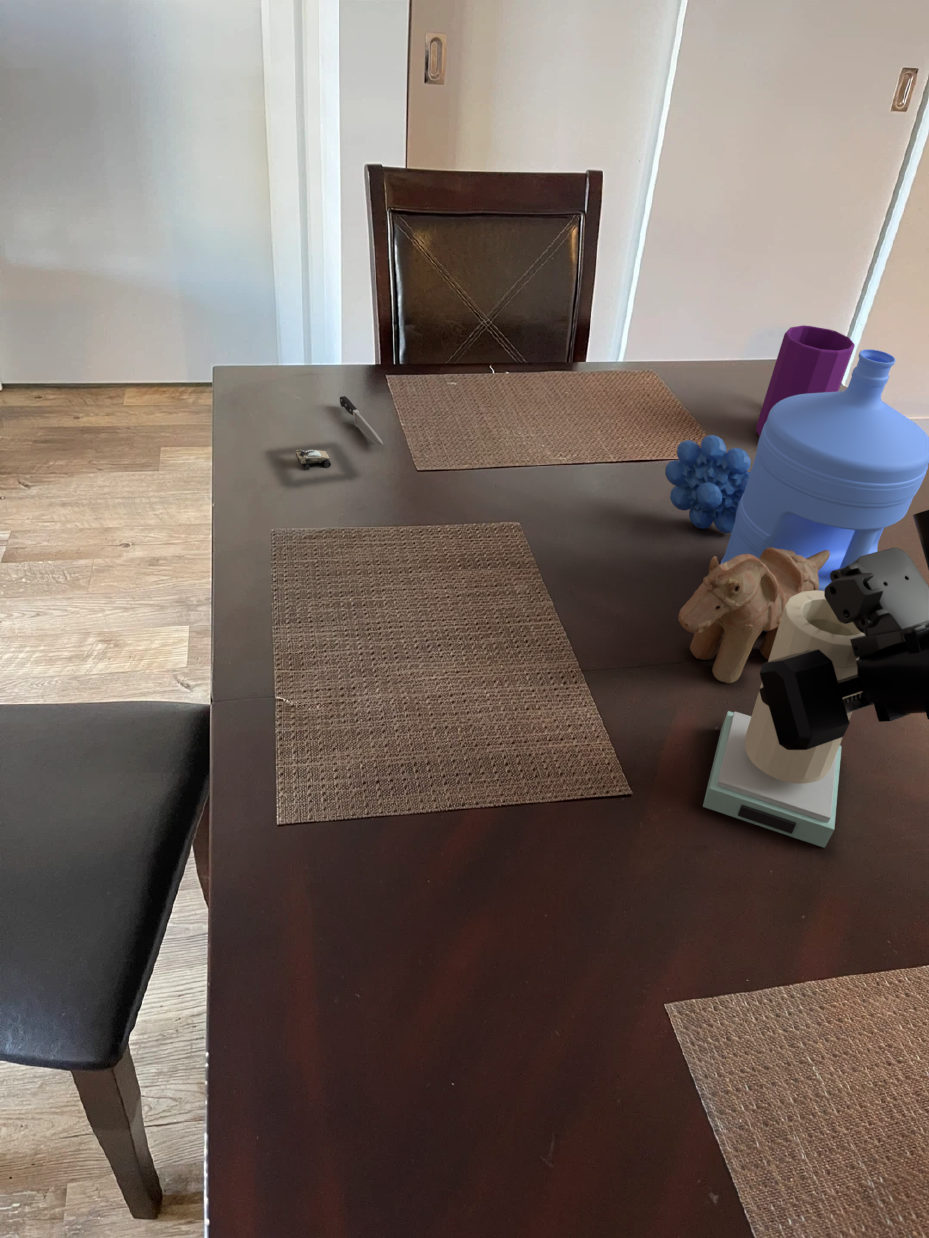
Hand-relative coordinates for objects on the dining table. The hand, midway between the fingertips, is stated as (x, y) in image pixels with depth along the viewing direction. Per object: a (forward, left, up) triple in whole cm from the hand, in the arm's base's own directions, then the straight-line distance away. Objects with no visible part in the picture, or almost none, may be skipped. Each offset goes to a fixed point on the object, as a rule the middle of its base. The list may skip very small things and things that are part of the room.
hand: (798, 683), depth 73 cm
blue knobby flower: (+20, -33, -11) cm, 40 cm away
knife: (+66, -26, -11) cm, 72 cm away
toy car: (+65, -14, -11) cm, 67 cm away
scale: (-1, +1, -11) cm, 11 cm away
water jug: (+7, -27, -11) cm, 30 cm away
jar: (-1, +1, -7) cm, 7 cm away
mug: (+21, -68, -11) cm, 72 cm away
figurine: (+8, -12, -11) cm, 18 cm away
